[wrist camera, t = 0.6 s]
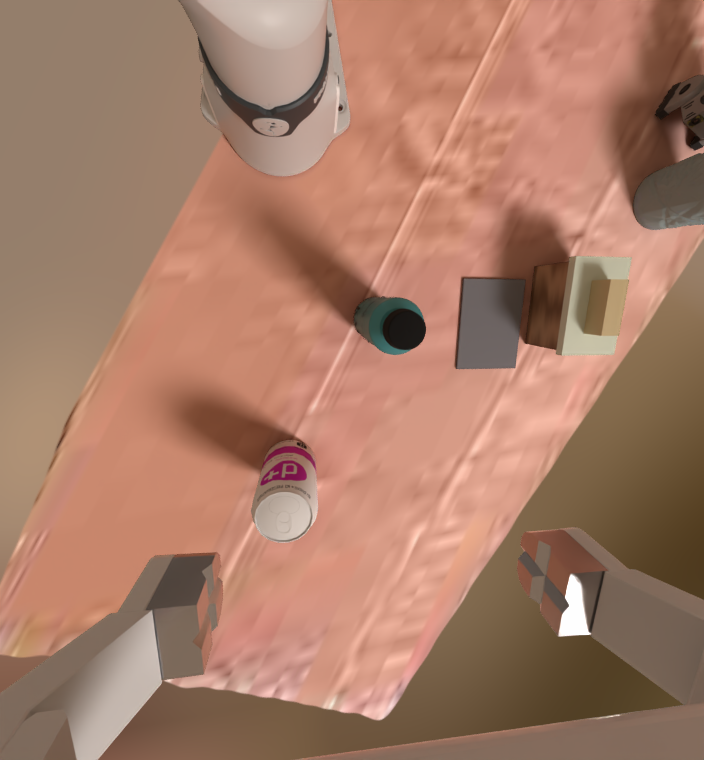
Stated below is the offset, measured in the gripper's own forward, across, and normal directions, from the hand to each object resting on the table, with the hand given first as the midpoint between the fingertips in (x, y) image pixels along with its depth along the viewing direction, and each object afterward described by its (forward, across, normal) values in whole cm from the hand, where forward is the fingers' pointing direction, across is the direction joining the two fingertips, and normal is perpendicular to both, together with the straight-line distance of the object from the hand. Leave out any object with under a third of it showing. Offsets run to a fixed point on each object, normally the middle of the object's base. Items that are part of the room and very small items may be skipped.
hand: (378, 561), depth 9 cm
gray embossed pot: (+45, -52, -22) cm, 73 cm away
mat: (+45, -27, -3) cm, 52 cm away
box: (+45, -37, -6) cm, 58 cm away
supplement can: (+45, +5, +19) cm, 49 cm away
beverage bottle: (+45, -8, -4) cm, 46 cm away
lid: (+37, -37, -6) cm, 52 cm away
